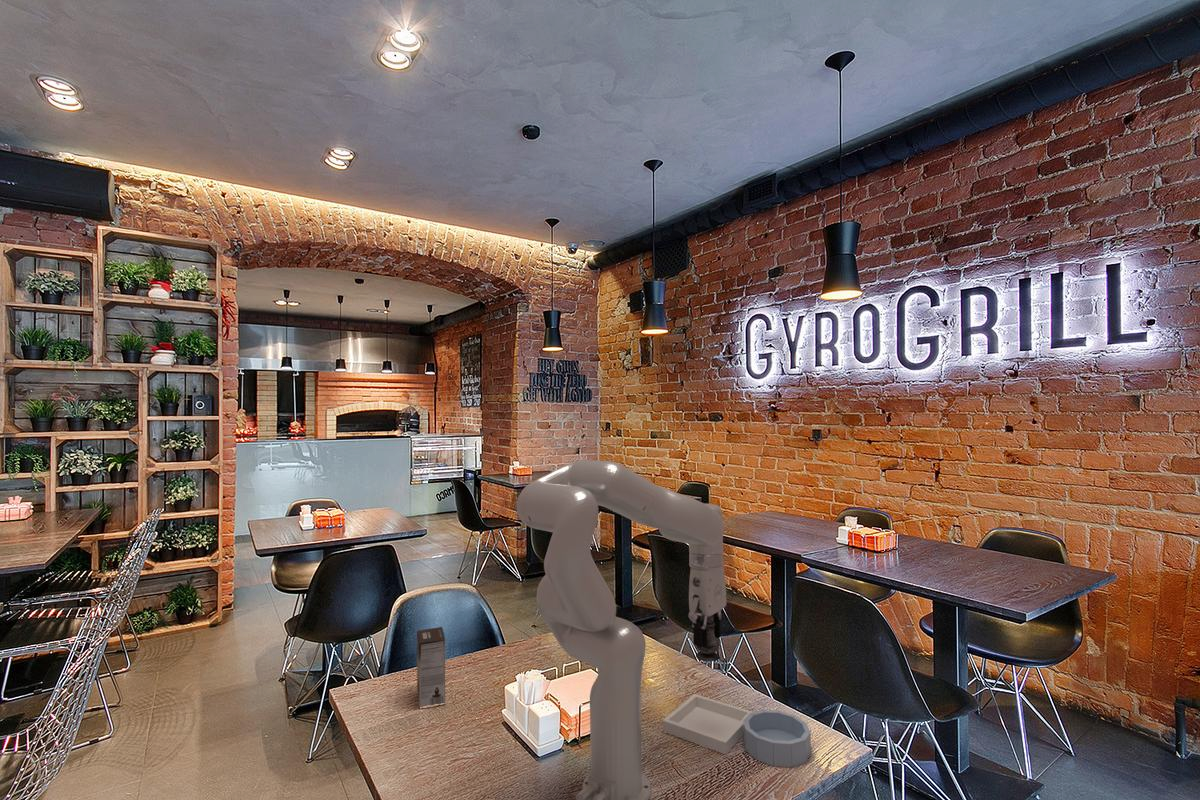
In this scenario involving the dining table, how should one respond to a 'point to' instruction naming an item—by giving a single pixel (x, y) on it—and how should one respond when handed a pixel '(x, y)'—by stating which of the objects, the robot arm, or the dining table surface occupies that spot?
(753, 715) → the bowl
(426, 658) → the coffee box
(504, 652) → the dining table surface
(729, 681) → the dining table surface
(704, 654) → the dark brown turned figure
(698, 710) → the parts tray
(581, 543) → the robot arm
